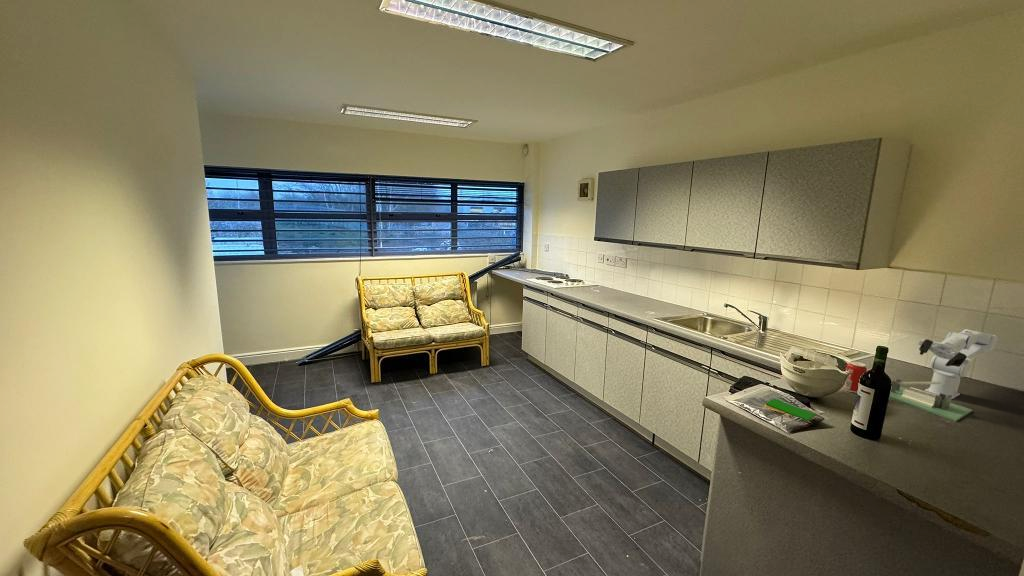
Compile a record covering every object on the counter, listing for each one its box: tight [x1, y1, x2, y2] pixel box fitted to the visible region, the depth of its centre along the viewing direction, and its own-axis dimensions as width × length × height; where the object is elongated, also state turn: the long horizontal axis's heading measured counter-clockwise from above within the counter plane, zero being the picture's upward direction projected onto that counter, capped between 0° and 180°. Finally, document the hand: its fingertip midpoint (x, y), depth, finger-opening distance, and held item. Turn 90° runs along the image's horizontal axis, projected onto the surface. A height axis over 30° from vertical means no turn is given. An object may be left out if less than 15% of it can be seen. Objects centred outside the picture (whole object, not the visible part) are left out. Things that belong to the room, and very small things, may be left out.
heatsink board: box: [889, 378, 973, 422], centre depth 157 cm, size 16×24×6 cm, turn 28°
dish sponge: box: [764, 398, 816, 421], centre depth 146 cm, size 7×14×2 cm, turn 35°
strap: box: [897, 381, 945, 386], centre depth 157 cm, size 3×14×1 cm, turn 28°
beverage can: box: [842, 360, 868, 394], centre depth 164 cm, size 6×6×12 cm
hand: (934, 358), depth 151 cm, fingers open, 7 cm apart
